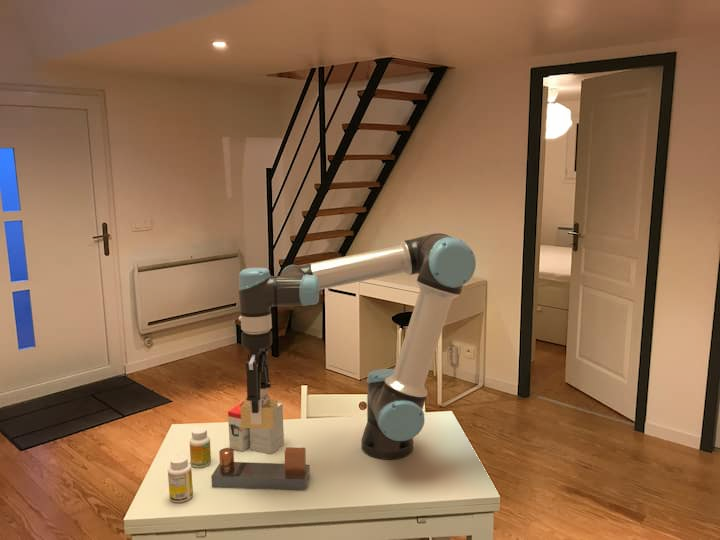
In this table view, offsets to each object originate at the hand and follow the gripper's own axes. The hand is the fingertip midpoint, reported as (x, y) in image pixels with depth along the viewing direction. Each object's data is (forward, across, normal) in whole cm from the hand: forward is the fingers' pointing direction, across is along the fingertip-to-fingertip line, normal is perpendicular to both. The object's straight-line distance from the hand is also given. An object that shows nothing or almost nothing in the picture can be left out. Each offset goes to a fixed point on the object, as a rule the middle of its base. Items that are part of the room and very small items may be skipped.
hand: (260, 417), depth 150 cm
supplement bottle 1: (+17, +9, -18) cm, 27 cm away
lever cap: (+1, 0, 0) cm, 1 cm away
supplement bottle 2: (+17, -8, -19) cm, 27 cm away
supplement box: (+18, -19, -3) cm, 26 cm away
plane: (+17, 0, 0) cm, 17 cm away
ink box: (+18, -20, -10) cm, 29 cm away
